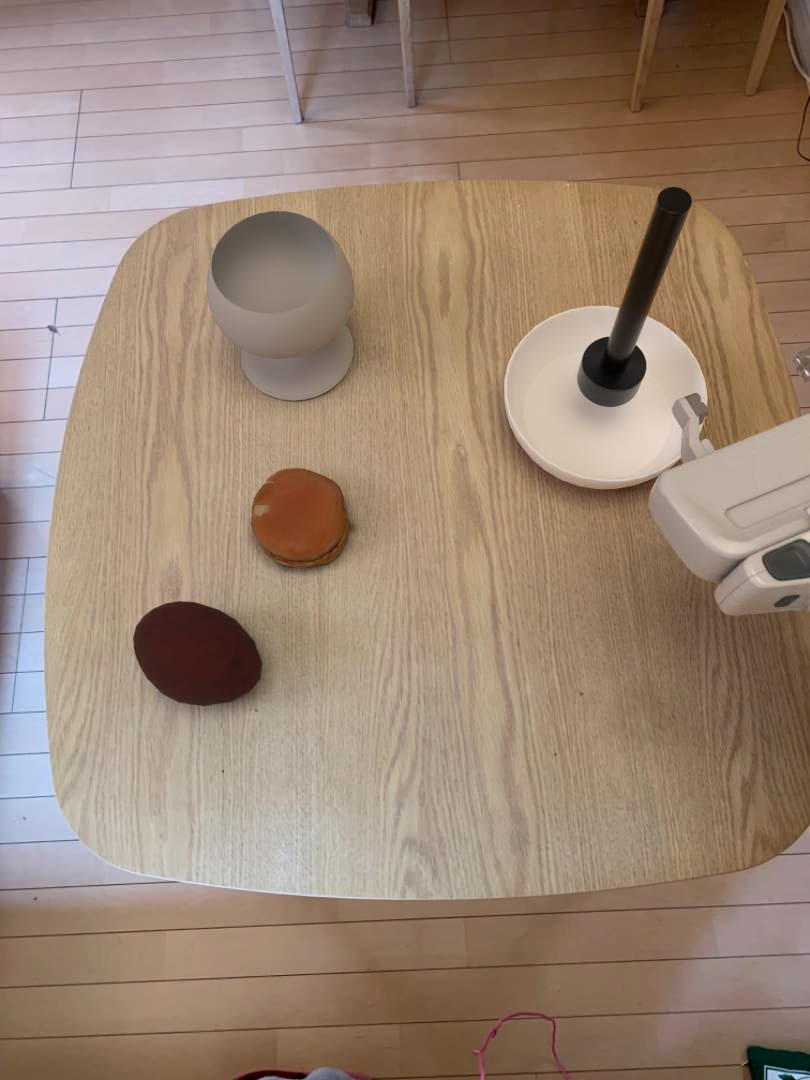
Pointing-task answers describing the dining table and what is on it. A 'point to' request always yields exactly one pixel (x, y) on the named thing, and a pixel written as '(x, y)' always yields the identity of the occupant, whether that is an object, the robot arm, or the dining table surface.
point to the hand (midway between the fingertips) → (744, 375)
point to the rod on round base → (634, 309)
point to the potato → (196, 654)
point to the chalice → (284, 303)
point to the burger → (300, 518)
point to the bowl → (587, 428)
